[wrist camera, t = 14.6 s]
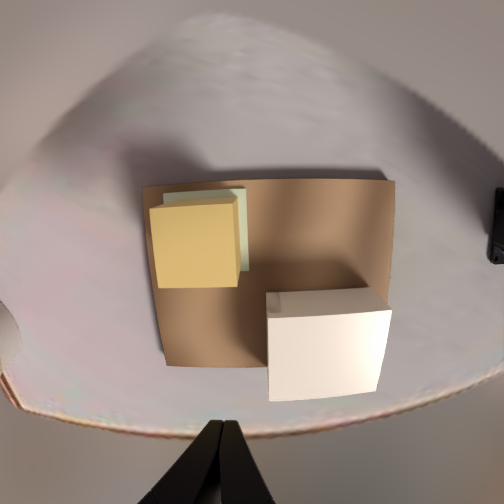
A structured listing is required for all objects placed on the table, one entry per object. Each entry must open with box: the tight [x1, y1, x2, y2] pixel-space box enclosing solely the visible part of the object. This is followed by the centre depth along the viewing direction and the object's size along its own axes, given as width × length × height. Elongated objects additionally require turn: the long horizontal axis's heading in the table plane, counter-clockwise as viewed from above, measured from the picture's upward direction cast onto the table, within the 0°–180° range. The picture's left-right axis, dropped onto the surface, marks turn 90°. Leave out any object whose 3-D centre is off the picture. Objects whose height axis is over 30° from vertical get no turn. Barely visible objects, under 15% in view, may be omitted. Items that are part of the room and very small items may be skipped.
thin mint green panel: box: [163, 188, 249, 271], centre depth 18 cm, size 5×5×1 cm
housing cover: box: [266, 287, 392, 402], centre depth 18 cm, size 7×6×4 cm
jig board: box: [142, 179, 395, 368], centre depth 18 cm, size 16×13×3 cm
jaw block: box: [149, 197, 241, 288], centre depth 16 cm, size 4×4×4 cm
